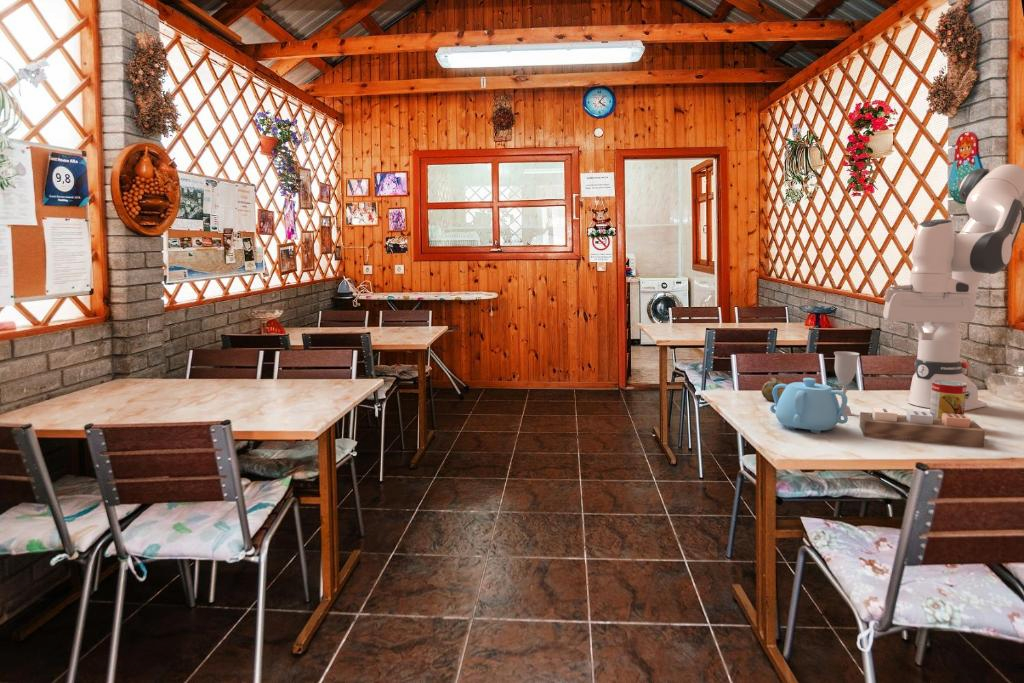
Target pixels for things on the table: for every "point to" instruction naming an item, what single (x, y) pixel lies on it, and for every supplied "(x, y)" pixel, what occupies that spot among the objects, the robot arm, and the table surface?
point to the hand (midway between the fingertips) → (925, 339)
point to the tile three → (955, 420)
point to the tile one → (884, 414)
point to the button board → (922, 431)
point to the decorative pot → (809, 406)
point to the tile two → (919, 417)
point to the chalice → (845, 371)
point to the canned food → (947, 397)
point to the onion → (769, 387)
